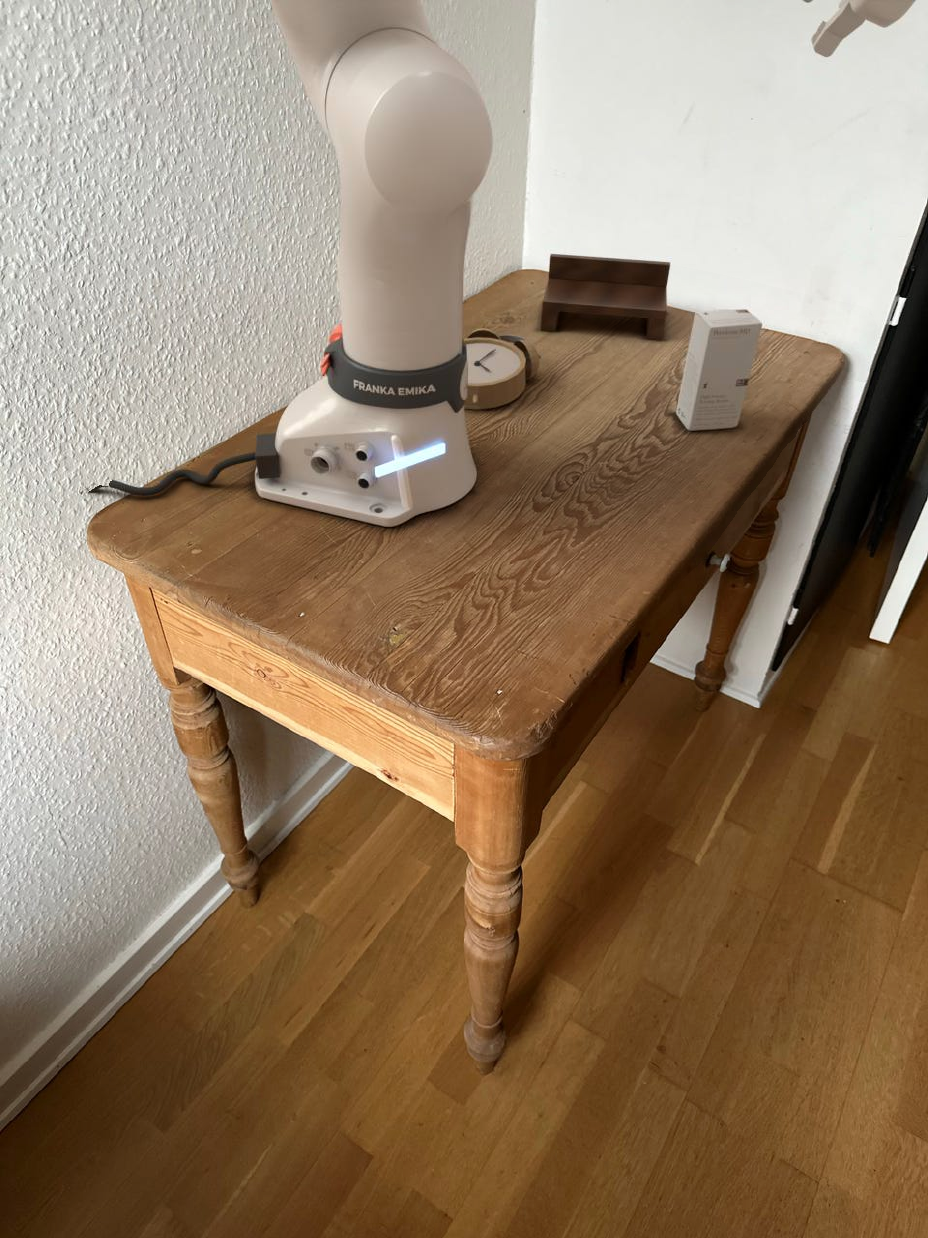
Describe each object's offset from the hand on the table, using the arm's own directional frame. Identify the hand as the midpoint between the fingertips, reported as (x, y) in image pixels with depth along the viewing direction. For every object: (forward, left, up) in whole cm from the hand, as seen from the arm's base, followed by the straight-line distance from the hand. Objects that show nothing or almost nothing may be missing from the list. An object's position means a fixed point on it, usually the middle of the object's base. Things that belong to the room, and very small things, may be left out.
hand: (809, 22), depth 78 cm
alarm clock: (-28, +3, -38) cm, 47 cm away
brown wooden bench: (-15, +23, -38) cm, 47 cm away
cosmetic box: (-2, -2, -38) cm, 38 cm away
